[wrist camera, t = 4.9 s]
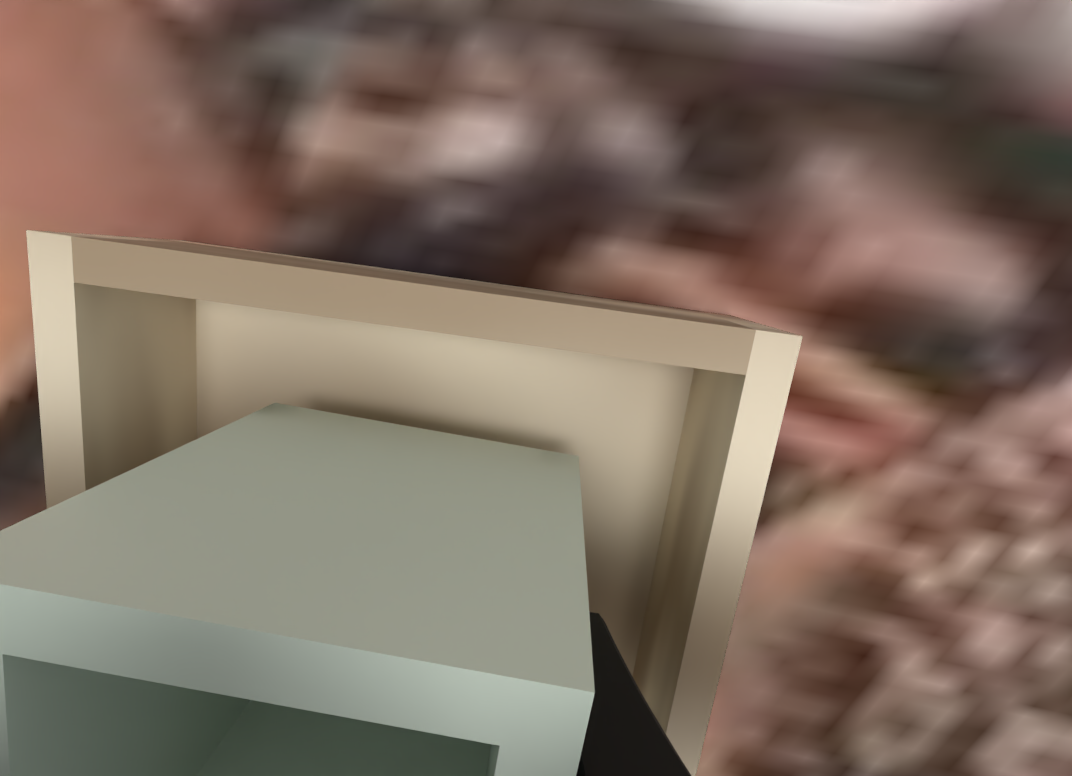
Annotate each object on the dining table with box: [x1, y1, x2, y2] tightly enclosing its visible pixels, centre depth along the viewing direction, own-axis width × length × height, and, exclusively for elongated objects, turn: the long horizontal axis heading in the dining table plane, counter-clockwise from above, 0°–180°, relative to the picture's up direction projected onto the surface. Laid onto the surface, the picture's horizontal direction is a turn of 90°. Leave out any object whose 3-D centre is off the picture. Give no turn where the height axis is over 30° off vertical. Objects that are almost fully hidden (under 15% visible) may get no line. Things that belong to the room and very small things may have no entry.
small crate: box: [0, 403, 595, 776], centre depth 7 cm, size 5×5×5 cm
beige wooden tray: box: [26, 230, 803, 776], centre depth 10 cm, size 10×10×3 cm
